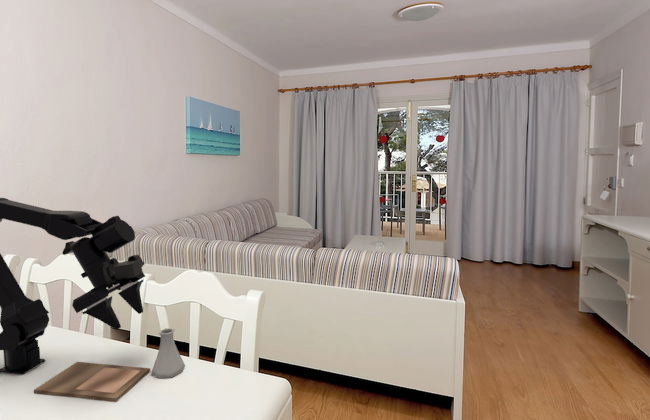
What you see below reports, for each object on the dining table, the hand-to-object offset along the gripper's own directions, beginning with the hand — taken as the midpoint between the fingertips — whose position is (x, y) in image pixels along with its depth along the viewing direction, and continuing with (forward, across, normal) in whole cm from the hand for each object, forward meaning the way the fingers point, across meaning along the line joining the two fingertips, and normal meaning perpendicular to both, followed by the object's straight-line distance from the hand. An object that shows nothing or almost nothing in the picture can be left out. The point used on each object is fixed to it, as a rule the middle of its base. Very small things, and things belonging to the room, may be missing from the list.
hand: (130, 320), depth 89 cm
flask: (+15, +1, 0) cm, 15 cm away
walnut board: (+8, -5, +12) cm, 15 cm away
